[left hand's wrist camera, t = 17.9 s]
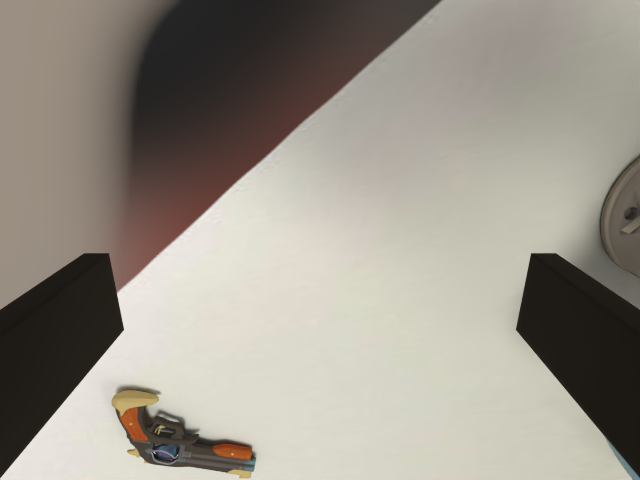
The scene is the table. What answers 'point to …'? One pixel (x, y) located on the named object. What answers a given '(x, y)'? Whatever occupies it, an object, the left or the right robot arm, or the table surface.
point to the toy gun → (175, 440)
